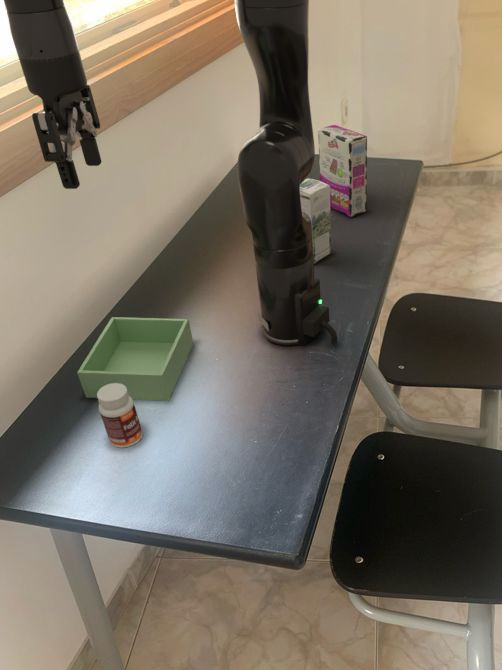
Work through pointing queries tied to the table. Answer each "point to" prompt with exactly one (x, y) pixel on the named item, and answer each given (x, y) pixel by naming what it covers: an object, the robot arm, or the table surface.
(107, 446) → the table surface
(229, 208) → the table surface
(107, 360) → the basket
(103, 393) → the pill bottle
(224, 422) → the table surface
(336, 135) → the candy bar box
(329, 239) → the syrup box
